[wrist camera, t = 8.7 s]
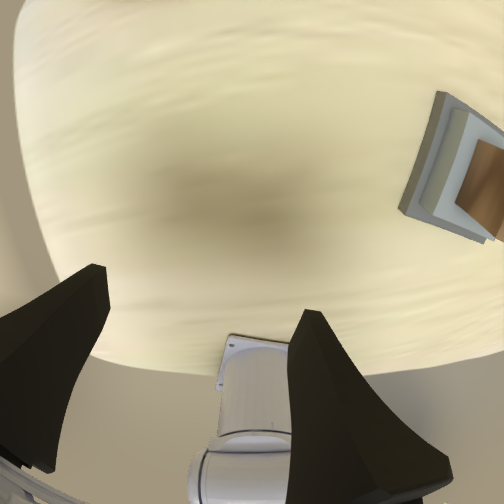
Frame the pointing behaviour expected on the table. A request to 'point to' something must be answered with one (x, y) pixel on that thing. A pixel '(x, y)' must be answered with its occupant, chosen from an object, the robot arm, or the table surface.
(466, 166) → the slate top slab
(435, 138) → the gray square platform
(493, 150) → the walnut cube
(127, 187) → the table surface
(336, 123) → the table surface
